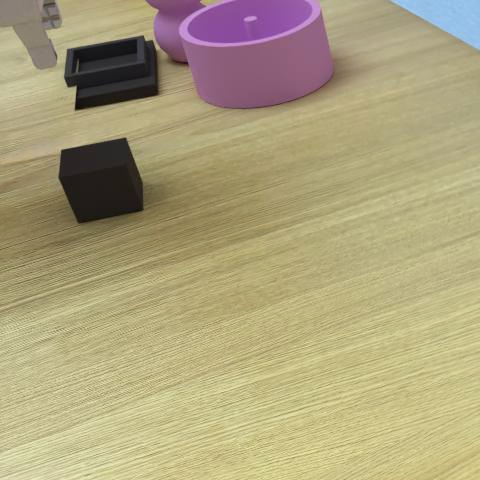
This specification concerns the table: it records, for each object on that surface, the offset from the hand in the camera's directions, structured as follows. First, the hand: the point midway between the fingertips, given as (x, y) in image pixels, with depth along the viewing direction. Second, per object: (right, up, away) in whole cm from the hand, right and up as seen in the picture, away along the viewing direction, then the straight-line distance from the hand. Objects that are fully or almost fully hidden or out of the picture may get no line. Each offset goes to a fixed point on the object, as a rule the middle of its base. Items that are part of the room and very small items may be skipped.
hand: (50, 45), depth 89 cm
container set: (+7, +12, +31) cm, 34 cm away
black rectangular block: (+1, -10, +10) cm, 14 cm away
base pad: (-7, +11, +31) cm, 34 cm away
